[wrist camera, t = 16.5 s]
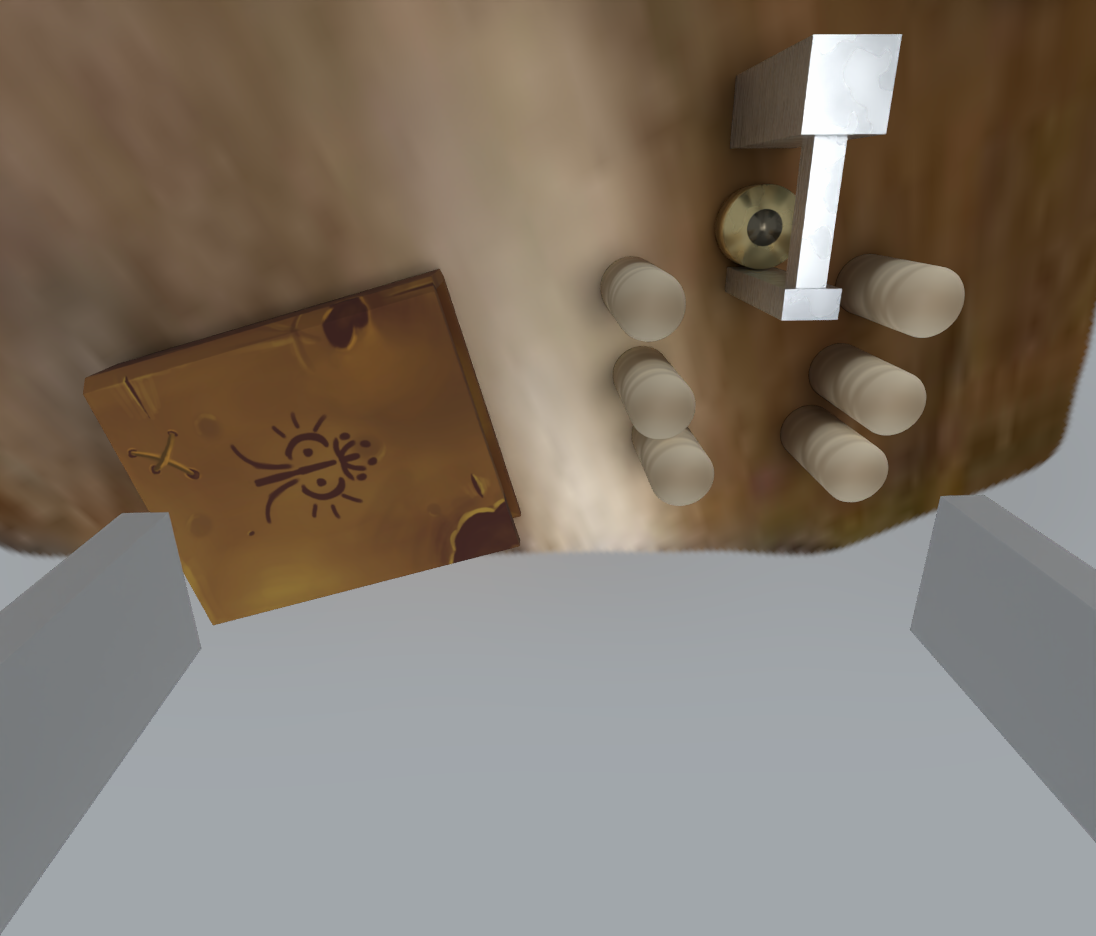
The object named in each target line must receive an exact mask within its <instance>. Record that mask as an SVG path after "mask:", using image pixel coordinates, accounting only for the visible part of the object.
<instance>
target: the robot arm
mask: <svg viewBox="0 0 1096 936" xmlns="http://www.w3.org/2000/svg"><path fill="white" fill-rule="evenodd" d="M910 630H911V631H912V633H913V634H914V635H915V636H916V637H917V638H918V640H919V641H920V642H921V643H922V644H923V645H924V646H925V648H926V649H927V650H928V651H929V652H930V653H931V654H932V656H933V657H934V658H935V659H936V660H937V661H938V662H939V664H940V665H941V666H942V667H943V668H944V669H945V670H946V672H947V673H948V674H949V675H950V676H951V677H952V678H953V680H954V681H955V682H956V683H957V684H958V685H959V686H960V688H961V689H962V690H963V691H964V692H965V693H966V694H967V696H968V697H969V698H970V699H971V700H972V701H973V703H974V704H975V705H976V706H977V707H978V708H979V709H980V710H981V712H982V713H983V714H984V715H985V716H986V717H987V719H988V720H989V721H990V722H991V723H992V724H993V725H994V727H995V728H996V729H997V730H998V731H999V732H1000V733H1001V735H1002V736H1003V737H1004V738H1005V739H1006V740H1007V741H1008V742H1009V744H1010V745H1011V746H1012V747H1013V748H1014V749H1015V750H1016V752H1017V753H1018V754H1019V755H1020V756H1021V757H1022V759H1023V760H1024V761H1025V762H1026V763H1027V764H1028V765H1029V766H1030V768H1031V769H1032V770H1033V771H1034V772H1035V773H1036V775H1037V776H1038V777H1039V778H1040V779H1041V780H1042V781H1043V782H1044V784H1045V785H1046V786H1047V787H1048V788H1049V789H1050V791H1051V792H1052V793H1053V794H1054V795H1055V796H1056V797H1057V799H1058V800H1059V801H1060V802H1061V803H1062V804H1063V805H1064V807H1065V808H1066V809H1067V810H1068V811H1069V812H1070V813H1071V815H1072V816H1073V817H1074V818H1075V819H1076V820H1077V821H1078V823H1079V824H1080V825H1081V826H1082V827H1083V828H1084V829H1085V831H1086V832H1087V833H1088V834H1089V835H1090V836H1091V837H1092V839H1093V840H1094V841H1095V842H1096V569H1094V568H1093V567H1091V566H1090V565H1088V564H1087V563H1085V562H1084V561H1082V560H1081V559H1079V558H1078V557H1076V556H1075V555H1073V554H1072V553H1070V552H1069V551H1067V550H1066V549H1064V548H1063V547H1061V546H1060V545H1058V544H1057V543H1055V542H1054V541H1052V540H1051V539H1049V538H1048V537H1046V536H1045V535H1043V534H1042V533H1040V532H1039V531H1037V530H1035V529H1034V528H1033V527H1031V526H1030V525H1028V524H1027V523H1025V522H1024V521H1022V520H1021V519H1019V518H1018V517H1016V516H1015V515H1013V514H1012V513H1010V512H1009V511H1007V510H1006V509H1004V508H1003V507H1001V506H1000V505H998V504H997V503H995V502H994V501H992V500H991V499H989V498H988V497H986V496H985V495H970V496H941V497H940V501H939V506H938V510H937V514H936V519H935V523H934V527H933V532H932V536H931V540H930V545H929V549H928V554H927V558H926V562H925V567H924V571H923V575H922V580H921V584H920V588H919V593H918V597H917V601H916V606H915V610H914V615H913V619H912V624H911V628H910ZM200 649H201V645H200V641H199V637H198V632H197V628H196V624H195V620H194V616H193V612H192V607H191V603H190V599H189V595H188V591H187V587H186V583H185V579H184V574H183V570H182V566H181V562H180V558H179V554H178V549H177V545H176V541H175V537H174V533H173V529H172V524H171V520H170V516H169V512H157V513H122V514H120V515H119V516H118V517H117V518H115V519H114V520H113V521H112V522H111V523H109V524H108V525H107V526H106V527H104V528H103V529H102V530H101V531H99V532H98V533H97V534H96V535H94V536H93V537H92V538H91V539H89V540H88V541H87V542H86V543H85V544H83V545H82V546H81V547H80V548H78V549H77V550H76V551H75V552H73V553H72V554H71V555H70V556H68V557H67V558H66V559H65V560H63V561H62V562H61V563H60V564H58V565H57V566H56V567H55V568H54V569H52V570H51V571H50V572H49V573H47V574H46V575H45V576H44V577H42V578H41V579H40V580H39V581H38V582H36V583H35V584H34V585H32V586H31V587H30V588H29V589H28V590H26V591H25V592H24V593H23V594H21V595H20V596H19V597H18V598H16V599H15V600H14V601H13V602H11V603H10V604H9V605H8V606H6V607H5V608H4V609H3V610H1V611H0V934H1V933H2V932H3V930H4V929H5V927H6V926H7V924H8V923H9V922H10V920H11V919H12V917H13V916H14V915H15V913H16V912H17V910H18V909H19V907H20V906H21V904H22V903H23V902H24V900H25V898H26V897H27V896H28V894H29V893H30V892H31V890H32V889H33V887H34V886H35V885H36V883H37V882H38V880H39V879H40V877H41V876H42V875H43V873H44V872H45V870H46V869H47V868H48V866H49V865H50V863H51V862H52V860H53V859H54V858H55V856H56V855H57V853H58V852H59V850H60V849H61V847H62V846H63V845H64V843H65V842H66V840H67V839H68V838H69V836H70V835H71V833H72V832H73V830H74V829H75V828H76V826H77V825H78V823H79V822H80V821H81V819H82V818H83V816H84V815H85V813H86V812H87V811H88V809H89V808H90V806H91V805H92V803H93V802H94V801H95V799H96V798H97V796H98V795H99V793H100V792H101V791H102V789H103V788H104V786H105V785H106V783H107V782H108V781H109V779H110V778H111V776H112V775H113V773H114V772H115V770H116V769H117V768H118V766H119V765H120V763H121V762H122V761H123V759H124V758H125V756H126V755H127V754H128V752H129V751H130V749H131V748H132V746H133V745H134V743H135V742H136V741H137V739H138V738H139V737H140V735H141V734H142V732H143V731H144V729H145V728H146V726H147V725H148V723H149V722H150V721H151V719H152V718H153V716H154V715H155V714H156V712H157V711H158V709H159V708H160V707H161V705H162V704H163V702H164V701H165V699H166V698H167V696H168V695H169V694H170V692H171V691H172V690H173V688H174V687H175V685H176V684H177V682H178V681H179V680H180V678H181V677H182V675H183V674H184V672H185V671H186V670H187V668H188V667H189V665H190V664H191V662H192V661H193V660H194V658H195V657H196V655H197V654H198V652H199V651H200Z"/></svg>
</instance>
